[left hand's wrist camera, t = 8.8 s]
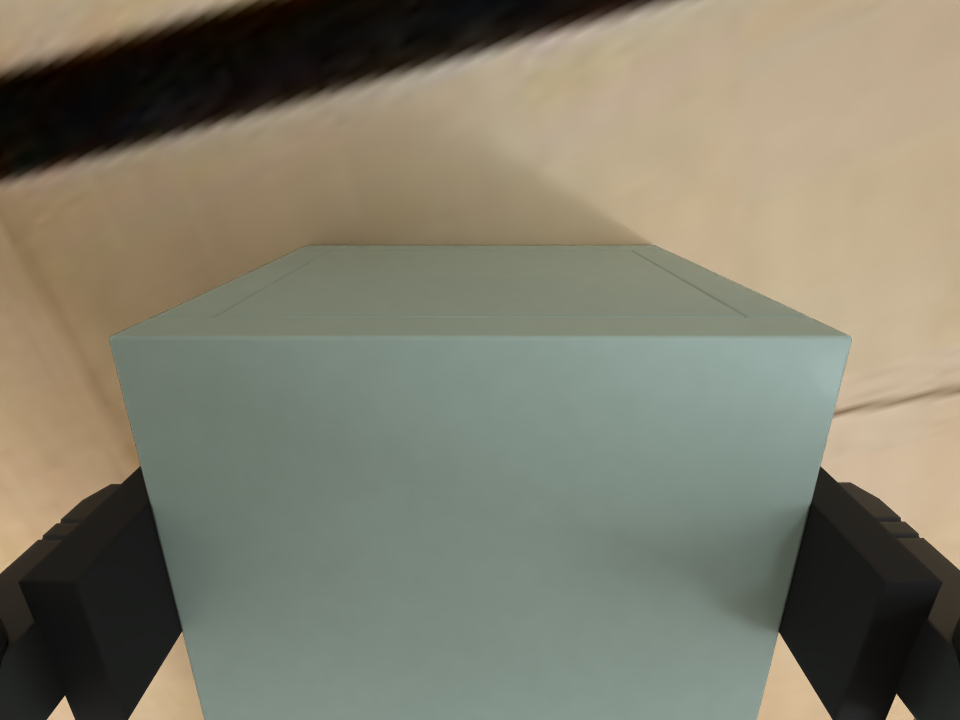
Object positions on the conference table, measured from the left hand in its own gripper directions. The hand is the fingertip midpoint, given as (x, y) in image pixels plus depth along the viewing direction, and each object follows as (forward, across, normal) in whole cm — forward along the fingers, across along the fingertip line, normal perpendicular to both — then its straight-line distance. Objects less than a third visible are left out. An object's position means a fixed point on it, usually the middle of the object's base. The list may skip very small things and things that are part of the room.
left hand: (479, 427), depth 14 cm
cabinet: (+4, 0, -7) cm, 8 cm away
